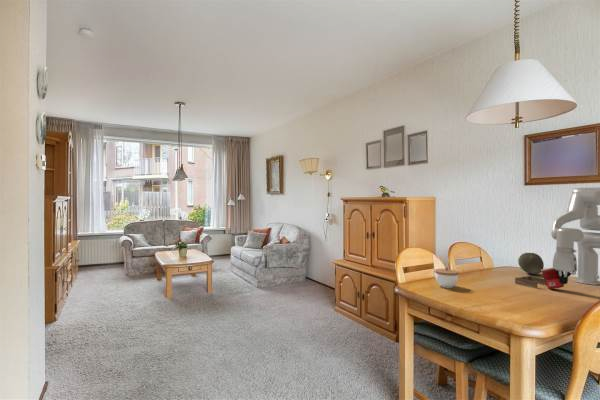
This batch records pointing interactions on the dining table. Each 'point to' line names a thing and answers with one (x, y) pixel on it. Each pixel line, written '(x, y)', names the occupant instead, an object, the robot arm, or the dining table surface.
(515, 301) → the dining table surface
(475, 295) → the dining table surface
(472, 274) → the dining table surface
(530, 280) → the corral
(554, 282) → the canned food
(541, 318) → the dining table surface
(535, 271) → the cantaloupe
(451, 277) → the lidded bowl
